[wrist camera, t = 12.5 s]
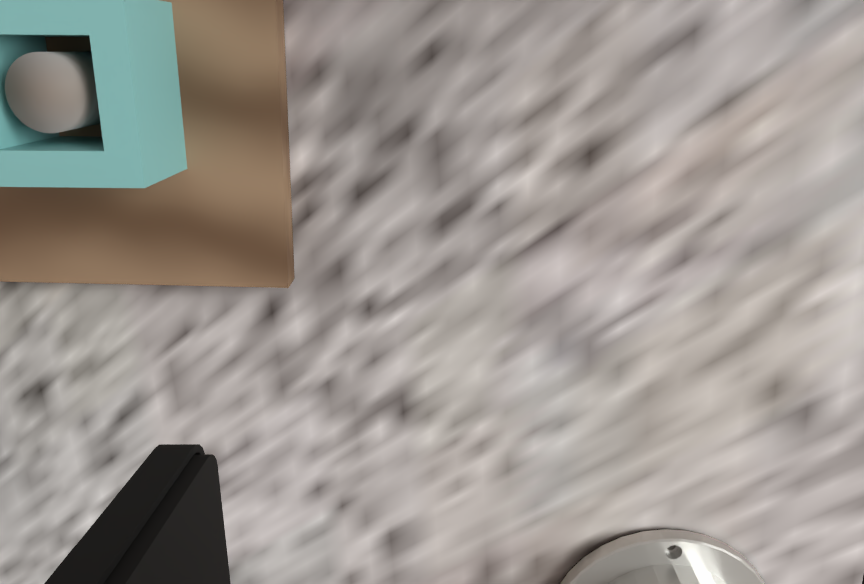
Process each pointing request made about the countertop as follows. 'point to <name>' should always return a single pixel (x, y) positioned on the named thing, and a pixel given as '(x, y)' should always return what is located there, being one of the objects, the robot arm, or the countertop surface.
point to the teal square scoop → (98, 95)
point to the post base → (176, 195)
